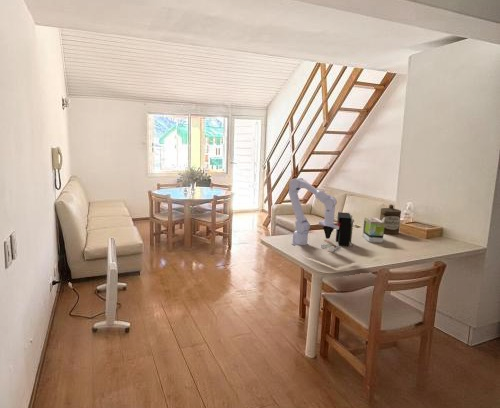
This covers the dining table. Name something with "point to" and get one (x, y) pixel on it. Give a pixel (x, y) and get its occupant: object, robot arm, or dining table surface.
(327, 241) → the brown flat bar
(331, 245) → the heatsink
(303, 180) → the robot arm
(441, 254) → the dining table surface
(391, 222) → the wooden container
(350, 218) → the electrical component
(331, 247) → the white stepped block
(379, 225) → the tea box
